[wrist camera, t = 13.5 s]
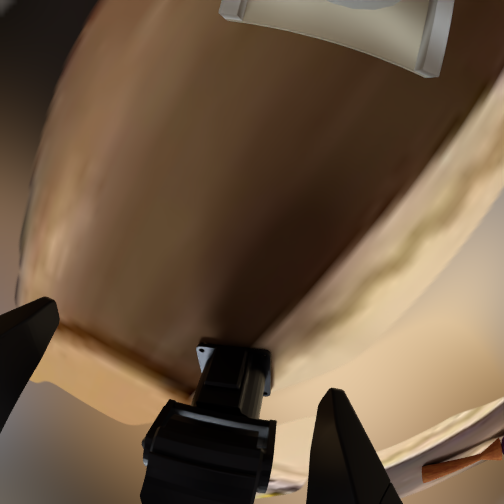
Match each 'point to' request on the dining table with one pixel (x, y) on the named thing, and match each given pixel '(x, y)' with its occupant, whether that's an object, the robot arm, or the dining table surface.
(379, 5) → the can
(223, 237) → the dining table surface
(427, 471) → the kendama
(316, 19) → the rail dock
